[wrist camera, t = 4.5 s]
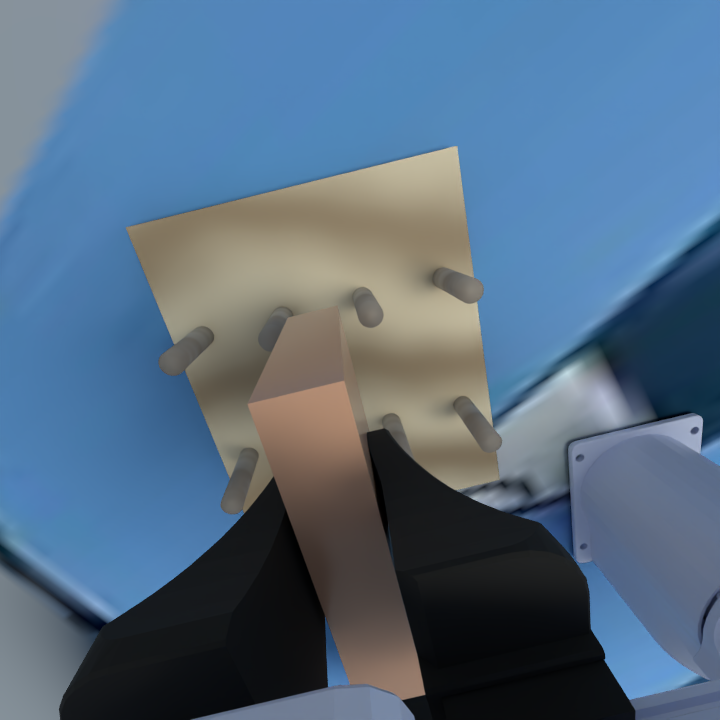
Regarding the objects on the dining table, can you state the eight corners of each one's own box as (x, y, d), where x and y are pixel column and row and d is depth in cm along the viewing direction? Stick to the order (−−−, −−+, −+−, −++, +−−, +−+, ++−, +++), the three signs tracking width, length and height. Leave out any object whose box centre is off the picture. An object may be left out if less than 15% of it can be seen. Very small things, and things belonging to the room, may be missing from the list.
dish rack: (494, 471, 24) (532, 529, 19) (256, 528, 24) (239, 599, 19) (451, 149, 18) (493, 123, 13) (134, 227, 18) (67, 227, 13)
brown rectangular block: (388, 507, 17) (427, 694, 10) (348, 517, 17) (359, 710, 10) (337, 305, 14) (343, 380, 7) (287, 317, 14) (247, 404, 7)
